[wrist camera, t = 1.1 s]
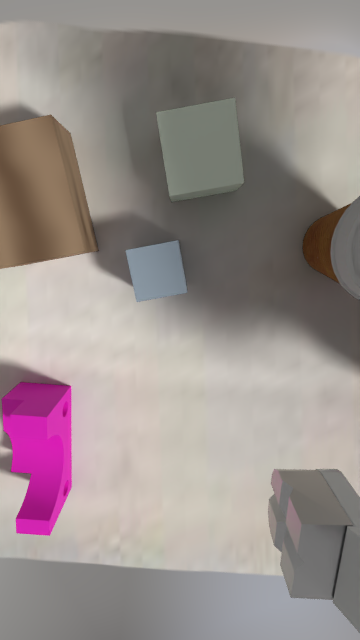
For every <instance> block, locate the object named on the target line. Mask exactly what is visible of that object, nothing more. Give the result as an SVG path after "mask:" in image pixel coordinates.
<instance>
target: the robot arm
mask: <svg viewBox="0 0 360 640" xmlns="http://www.w3.org/2000/svg"><path fill="white" fill-rule="evenodd" d="M271 485H272V488H273V491H274V495H273V496H272V497H271V498H270V499H269V506H268V518H269V527H270V532H271V536H272V540H273V543H274V546H275V547H276V548H277V549H279V550H280V551H281V552H282V555H281V563H280V566H281V569H282V572H283V575H284V578H285V581H286V584H287V587H288V590H289V593H290V597H291V598H308V599H328V600H333V603H334V604H335V605H336V607H338V609H339V610H340V611H341V612H342V613H343V615H344V616H345V617H346V618H347V619H348V620H349V621H350V622H351V624H352V625H353V626H354V627H355V628H356V629H357V630H358V632H359V633H360V497H359V496H358V494H357V493H356V492H355V490H354V489H353V487H352V486H351V485H350V483H349V482H348V480H347V479H346V478H345V476H344V475H343V473H342V472H341V471H339V470H338V469H316V470H295V469H274V471H273V473H272V479H271Z"/></svg>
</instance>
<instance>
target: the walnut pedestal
mask: <svg viewBox="0 0 360 640" xmlns="http://www.w3.org/2000/svg"><path fill="white" fill-rule="evenodd" d="M95 251H99V250H98V246H97V242H96V238H95V234H94V229H93V225H92V221H91V217H90V213H89V209H88V204H87V200H86V196H85V192H84V188H83V184H82V179H81V175H80V171H79V167H78V163H77V159H76V154H75V150H74V146H73V142H72V138H71V134H70V133H69V132H68V131H67V130H66V129H65V128H64V127H63V126H62V125H61V124H60V123H59V122H58V121H57V120H56V119H55V118H54V117H53V116H52V115H47V116H43V117H38V118H33V119H29V120H24V121H19V122H15V123H10V124H5V125H1V126H0V269H2V268H9V267H15V266H22V265H27V264H32V263H37V262H43V261H48V260H53V259H58V258H64V257H69V256H74V255H79V254H84V253H90V252H95Z"/></svg>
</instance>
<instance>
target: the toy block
mask: <svg viewBox="0 0 360 640" xmlns="http://www.w3.org/2000/svg"><path fill="white" fill-rule="evenodd" d="M2 410H3V426H4V431H5V432H6V433H7V434H8V435H9V437H10V439H11V443H12V449H13V459H12V468H11V472H19V473H31V478H30V482H29V486H28V490H27V493H26V496H25V499H24V502H23V504H22V507H21V509H20V511H19V513H18V515H17V517H16V532H17V533H21V534H35V535H49V536H50V534H51V532H52V529H53V527H54V525H55V523H56V521H57V518H58V516H59V514H60V512H61V509H62V507H63V505H64V503H65V501H66V498H67V496H68V494H69V492H70V490H71V487H72V481H71V386H64V385H51V384H38V383H25V382H20V383H19V384H18V385H17V386H16V387H15V388H13V389H12V390H11V391H10V392H9V393H8V394H7V395H5V396H4V397H3V398H2Z"/></svg>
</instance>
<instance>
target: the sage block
mask: <svg viewBox="0 0 360 640" xmlns="http://www.w3.org/2000/svg"><path fill="white" fill-rule="evenodd" d="M156 116H157V123H158V129H159V135H160V141H161V147H162V153H163V160H164V166H165V172H166V178H167V184H168V191H169V196H170V200H171V202H175V201H180V200H186V199H192V198H198V197H203V196H209V195H215V194H220V193H226V192H232V191H236V190H237V189H238V188H239V187H240V186H241V185H243V184H244V176H243V166H242V157H241V148H240V138H239V129H238V120H237V110H236V101H235V98H229V99H224V100H219V101H213V102H208V103H203V104H197V105H192V106H187V107H181V108H176V109H171V110H165V111H160V112H156Z"/></svg>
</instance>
